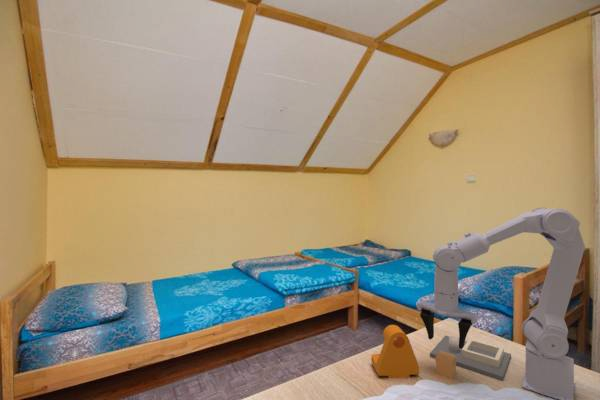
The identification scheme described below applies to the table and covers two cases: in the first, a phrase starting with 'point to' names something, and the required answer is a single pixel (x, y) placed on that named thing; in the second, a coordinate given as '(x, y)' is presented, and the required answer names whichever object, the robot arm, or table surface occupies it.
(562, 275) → the robot arm
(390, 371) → the bracket
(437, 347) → the board
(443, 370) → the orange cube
